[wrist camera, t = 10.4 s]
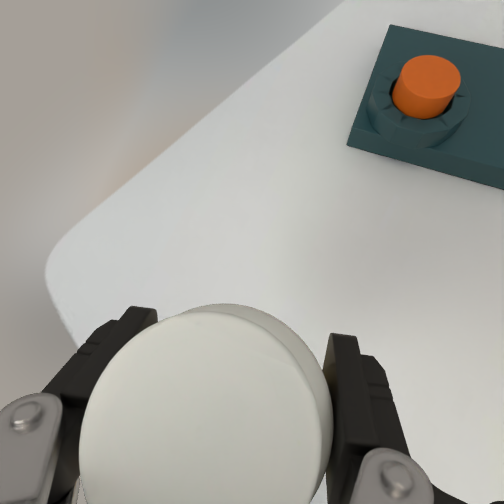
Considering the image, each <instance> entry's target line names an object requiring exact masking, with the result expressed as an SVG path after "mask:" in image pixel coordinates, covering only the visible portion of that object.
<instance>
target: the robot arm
mask: <svg viewBox="0 0 504 504" xmlns="http://www.w3.org/2000/svg"><path fill="white" fill-rule="evenodd" d="M157 322H158V318H157V311H156V310H155V309H152V308H144V307H137V306H130V307H129V308H128V309H127V310H126V312H125V313H124V314H123V315H122V317H121V318H120V319H119V320H110V321H108V322H107V323H105V324H104V325H102V326H100V327H99V328H97V329H96V330H95V331H94V332H93V333H92V334H91V336H90V337H89V338H88V339H87V340H86V343H84V344H83V345H82V346H81V347H80V348H79V349H78V350H77V353H75V354H74V355H73V356H72V357H71V358H70V360H69V361H68V362H67V363H66V364H65V365H64V366H63V368H62V369H61V370H60V371H59V372H58V373H57V374H56V376H55V377H54V378H53V379H52V380H51V382H49V384H48V385H47V386H46V387H45V388H44V389H43V390H42V392H41V393H34V394H30V395H26V396H23V397H21V398H19V399H17V400H15V401H13V402H11V403H10V404H8V405H7V406H5V407H4V408H3V409H2V410H1V411H0V504H77V499H78V493H79V487H80V479H79V476H80V468H79V442H80V434H81V427H82V422H83V418H84V414H85V411H86V407H87V404H88V401H89V398H90V396H91V394H92V392H93V389H94V387H95V385H96V383H97V381H98V379H99V378H100V376H101V374H102V373H103V371H104V370H105V368H106V366H107V365H108V364H109V362H110V361H111V360H112V358H113V357H114V356H115V355H116V353H117V352H118V351H119V350H120V349H121V348H122V347H123V346H124V345H125V344H126V343H127V342H129V341H130V340H131V339H132V338H133V337H135V336H136V335H137V334H139V333H140V332H141V331H143V330H144V329H146V328H148V327H149V326H151V325H153V324H155V323H157ZM322 372H323V374H324V377H325V379H326V382H327V385H328V389H329V393H330V396H331V402H332V408H333V423H334V429H333V442H332V448H331V454H330V458H329V462H328V465H327V468H326V485H327V501H328V504H467V503H465V502H463V501H461V500H459V499H457V498H455V497H453V496H451V495H449V494H447V493H445V492H443V491H441V490H440V489H438V488H437V487H436V486H434V485H433V484H432V483H431V482H430V480H429V478H428V476H427V475H426V473H425V472H424V470H423V469H422V468H421V467H420V466H419V465H418V464H417V463H416V462H415V461H414V460H413V459H411V456H410V454H409V451H408V447H407V444H406V441H405V437H404V434H403V430H402V427H401V424H400V420H399V417H398V414H397V410H396V407H395V404H394V402H393V397H392V393H391V390H390V388H389V383H388V380H387V377H386V373H385V370H384V369H383V368H382V366H381V365H380V364H379V363H378V361H377V360H376V359H375V358H374V356H368V355H361V354H360V349H359V345H358V341H357V337H356V336H351V335H343V334H336V333H330V336H329V340H328V345H327V350H326V355H325V360H324V365H323V370H322ZM490 504H504V501H496V502H492V503H490Z"/></svg>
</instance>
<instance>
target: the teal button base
mask: <svg viewBox="0 0 504 504" xmlns="http://www.w3.org/2000/svg"><path fill="white" fill-rule="evenodd" d="M422 55H433V56H438V57H442V58H444V59H446V60H448V61H450V62H451V63H452V64H453V65H454V66H455V67H456V68H457V69H458V71H459V73H460V77H461V82H460V86H459V88H458V89H457V91H456V93H455V94H454V96H453V97H452V99H451V100H450V102H449V104H448V105H447V107H446V108H445V110H444V111H443V112H442V113H441V114H439V115H438V116H436V117H433V118H430V119H417V118H413V117H409V116H406V115H405V114H403V113H402V112H401V111H400V110H398V109H397V108H396V106H395V105H394V102H393V98H392V93H393V90H394V87H395V85H396V83H397V80H398V78H399V75H400V73H401V71H402V68H403V66H404V65H405V64H406V63H407V62H408V61H409V60H411V59H413V58H415V57H418V56H422ZM347 145H348V146H351V147H355V148H358V149H362V150H365V151H369V152H372V153H376V154H379V155H383V156H386V157H390V158H394V159H397V160H401V161H404V162H408V163H411V164H415V165H418V166H422V167H425V168H429V169H433V170H436V171H440V172H443V173H447V174H450V175H454V176H457V177H461V178H464V179H468V180H471V181H475V182H479V183H482V184H486V185H489V186H493V187H496V188H500V189H503V190H504V49H503V48H498V47H493V46H489V45H484V44H479V43H475V42H470V41H465V40H461V39H456V38H451V37H447V36H442V35H437V34H433V33H428V32H423V31H419V30H414V29H409V28H405V27H400V26H395V25H390V26H389V28H388V31H387V34H386V36H385V39H384V42H383V45H382V47H381V50H380V53H379V55H378V58H377V61H376V64H375V66H374V69H373V72H372V74H371V77H370V80H369V83H368V85H367V88H366V91H365V93H364V96H363V99H362V102H361V104H360V107H359V110H358V112H357V115H356V118H355V121H354V123H353V126H352V129H351V132H350V135H349V138H348V142H347Z"/></svg>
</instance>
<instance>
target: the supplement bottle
mask: <svg viewBox="0 0 504 504" xmlns="http://www.w3.org/2000/svg"><path fill="white" fill-rule="evenodd" d="M333 429H334V423H333V408H332V402H331V396H330V393H329V389H328V385H327V382H326V379H325V377H324V374H323V372H322V370H321V368H320V366H319V364H318V362H317V360H316V358H315V356H314V355H313V353H312V352H311V350H310V349H309V348H308V346H307V345H306V344H305V342H304V341H303V340H302V339H301V338H300V337H299V336H298V335H297V334H296V333H295V332H294V331H293V330H292V329H291V328H289V327H288V326H287V325H286V324H285V323H283V322H282V321H280V320H278V319H277V318H275V317H274V316H272V315H270V314H267V313H265V312H263V311H260V310H258V309H255V308H252V307H248V306H243V305H237V304H212V305H206V306H200V307H197V308H193V309H190V310H188V311H185V312H183V313H181V314H178V315H175V316H172V317H169V318H166V319H164V320H161V321H159V322H157V323H155V324H153V325H151V326H149V327H148V328H146V329H144V330H143V331H141V332H140V333H139V334H137V335H136V336H135V337H133V338H132V339H131V340H130V341H129V342H127V343H126V344H125V345H124V346H123V347H122V348H121V349H120V350H119V351H118V352H117V353H116V355H115V356H114V357H113V358H112V360H111V361H110V362H109V364H108V365H107V366H106V368H105V370H104V371H103V373H102V374H101V376H100V378H99V379H98V381H97V383H96V385H95V387H94V389H93V392H92V394H91V396H90V398H89V401H88V404H87V407H86V411H85V414H84V418H83V422H82V427H81V434H80V442H79V468H80V477H81V482H82V486H83V491H84V496H85V499H86V501H87V504H309V503H310V502H311V500H312V499H313V497H314V495H315V493H316V492H317V490H318V488H319V486H320V484H321V482H322V479H323V477H324V474H325V471H326V468H327V465H328V462H329V458H330V454H331V448H332V442H333Z"/></svg>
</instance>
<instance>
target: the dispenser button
mask: <svg viewBox="0 0 504 504" xmlns="http://www.w3.org/2000/svg"><path fill="white" fill-rule="evenodd" d="M460 82H461V77H460V73H459V71H458V69H457V68H456V67H455V66H454V65H453V64H452V63H451V62H450V61H448V60H446V59H444V58H442V57H438V56H433V55H422V56H418V57H415V58H413V59H411V60H409V61H408V62H407V63H406V64H405V65H404V66H403V68H402V71H401V73H400V75H399V78H398V80H397V83H396V85H395V87H394V90H393V93H392V98H393V102H394V105H395V106H396V108H397V109H398V110H400V111H401V112H402V113H403V114H405V115H406V116H409V117H413V118H417V119H430V118H433V117H436V116H438V115H439V114H441V113H442V112H443V111H444V110H445V108H446V107H447V105H448V104H449V102H450V100H451V99H452V97H453V96H454V94H455V93H456V91H457V89H458V88H459V86H460Z"/></svg>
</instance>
